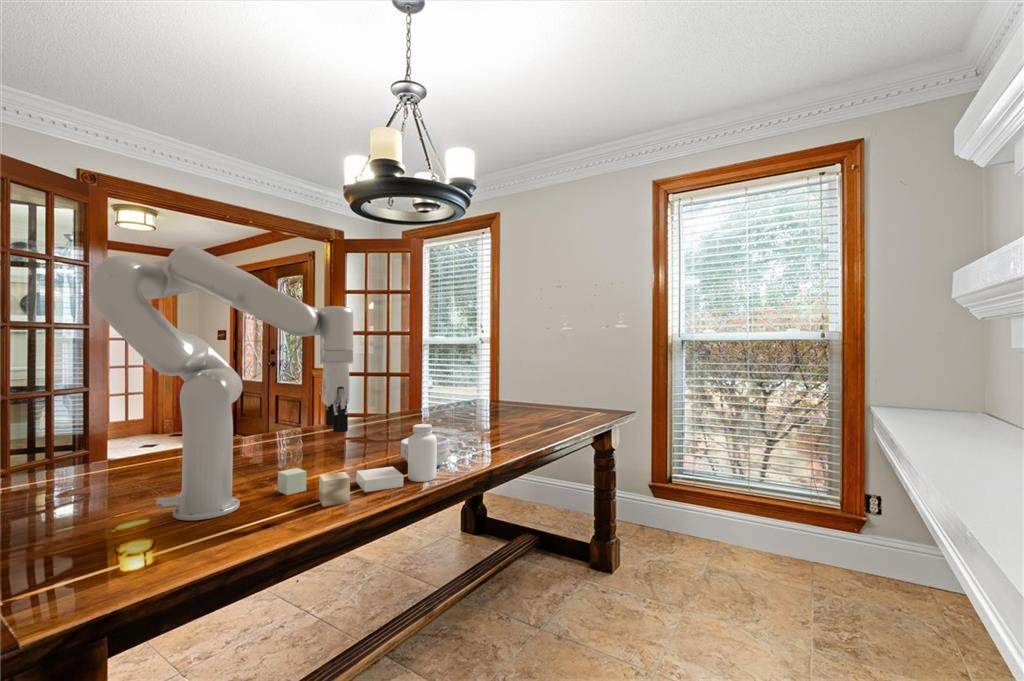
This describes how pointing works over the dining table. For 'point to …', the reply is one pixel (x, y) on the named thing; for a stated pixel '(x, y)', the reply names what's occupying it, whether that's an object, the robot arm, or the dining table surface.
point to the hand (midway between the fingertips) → (336, 428)
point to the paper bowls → (442, 448)
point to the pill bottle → (422, 454)
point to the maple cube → (334, 488)
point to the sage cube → (292, 481)
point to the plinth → (379, 479)
